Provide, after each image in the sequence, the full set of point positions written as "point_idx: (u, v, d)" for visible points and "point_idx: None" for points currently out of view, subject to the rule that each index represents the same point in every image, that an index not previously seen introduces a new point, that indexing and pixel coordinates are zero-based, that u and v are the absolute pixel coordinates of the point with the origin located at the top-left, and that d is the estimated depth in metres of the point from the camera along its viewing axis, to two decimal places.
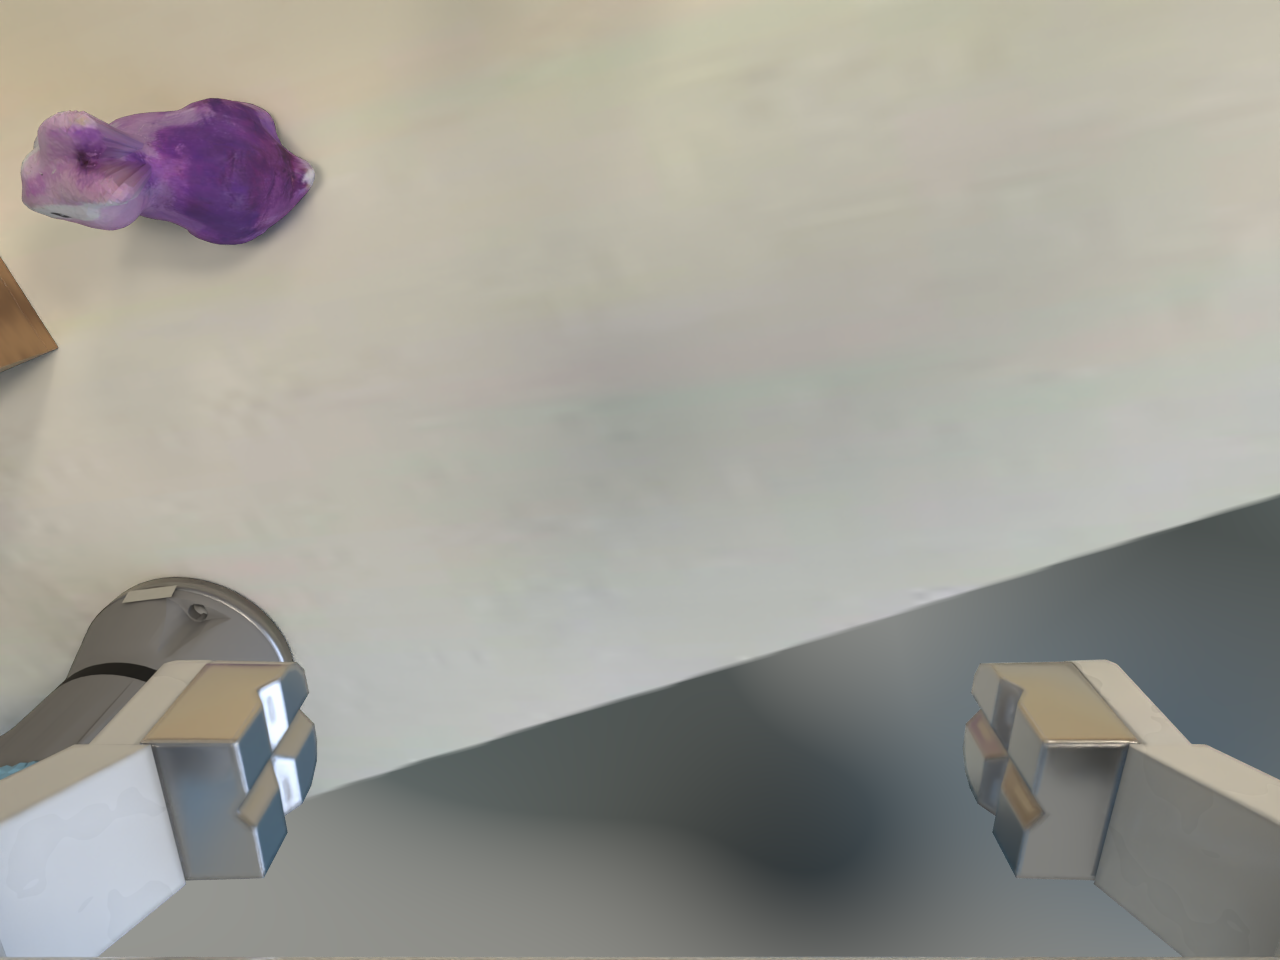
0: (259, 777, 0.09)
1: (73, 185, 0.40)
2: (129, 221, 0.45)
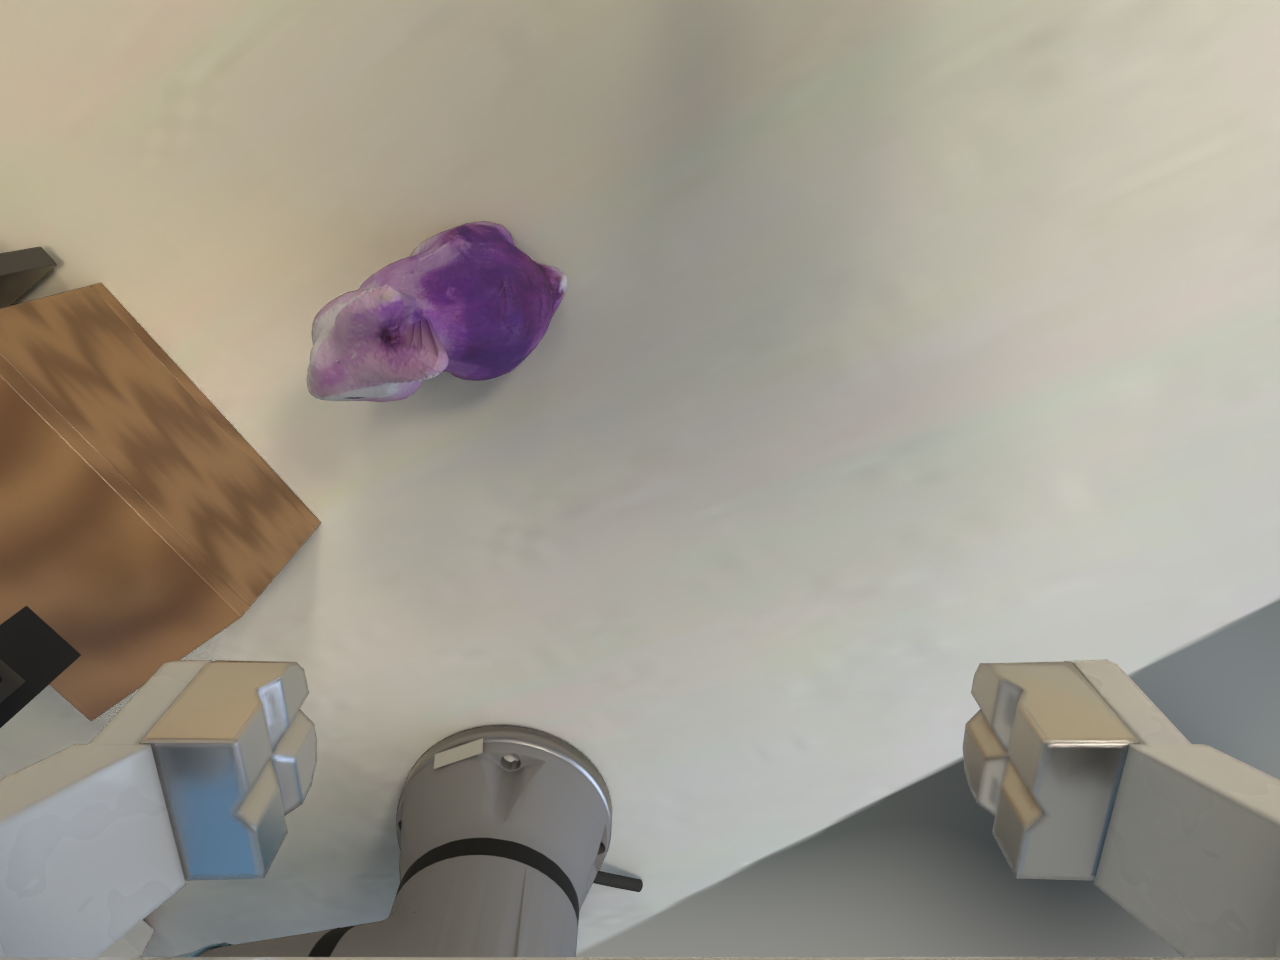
0: (259, 777, 0.09)
1: (383, 367, 0.36)
2: (419, 385, 0.41)
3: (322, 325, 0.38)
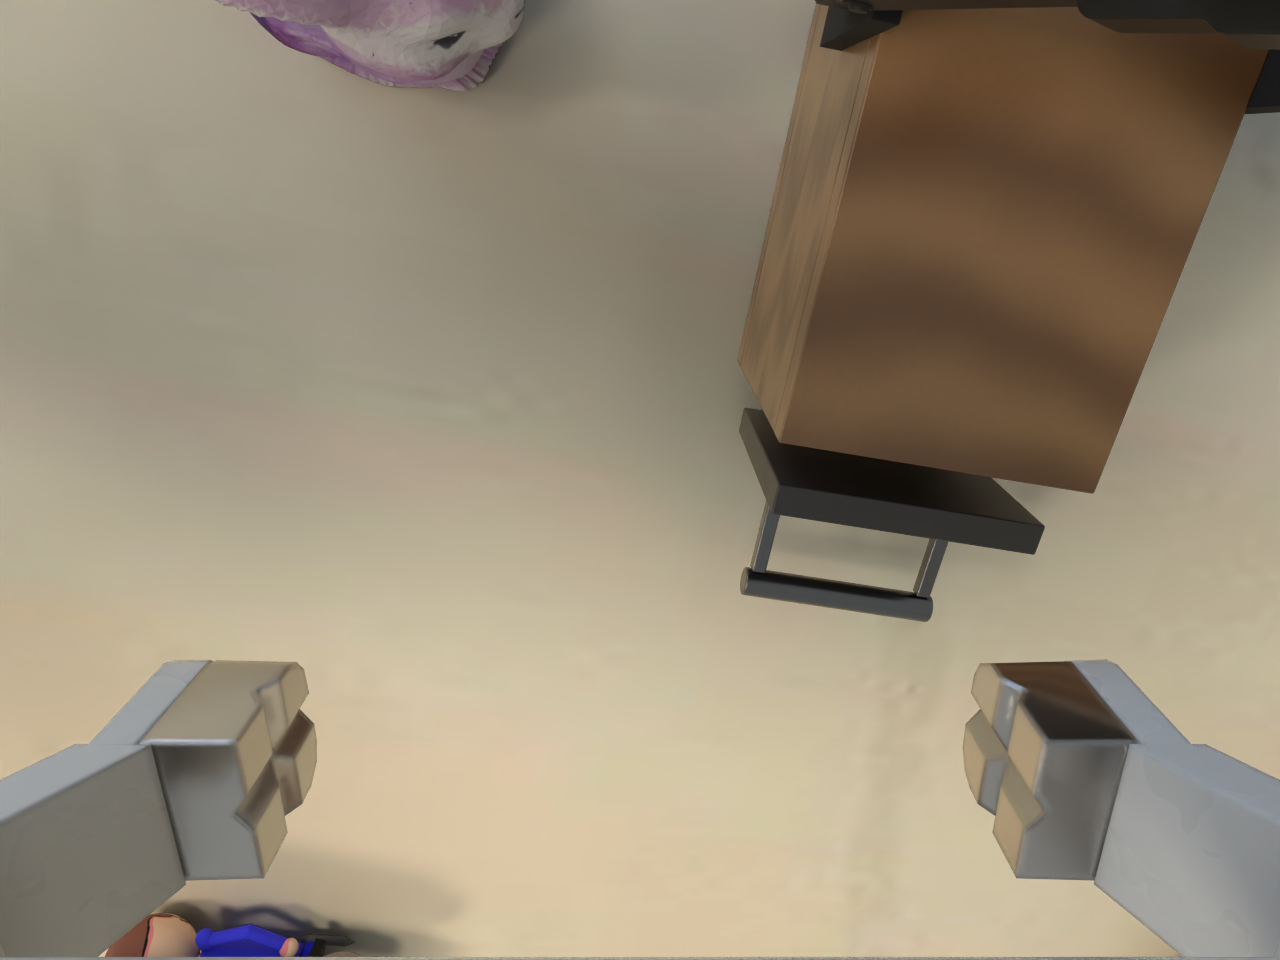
0: (259, 777, 0.09)
1: None
2: None
3: (406, 52, 0.25)
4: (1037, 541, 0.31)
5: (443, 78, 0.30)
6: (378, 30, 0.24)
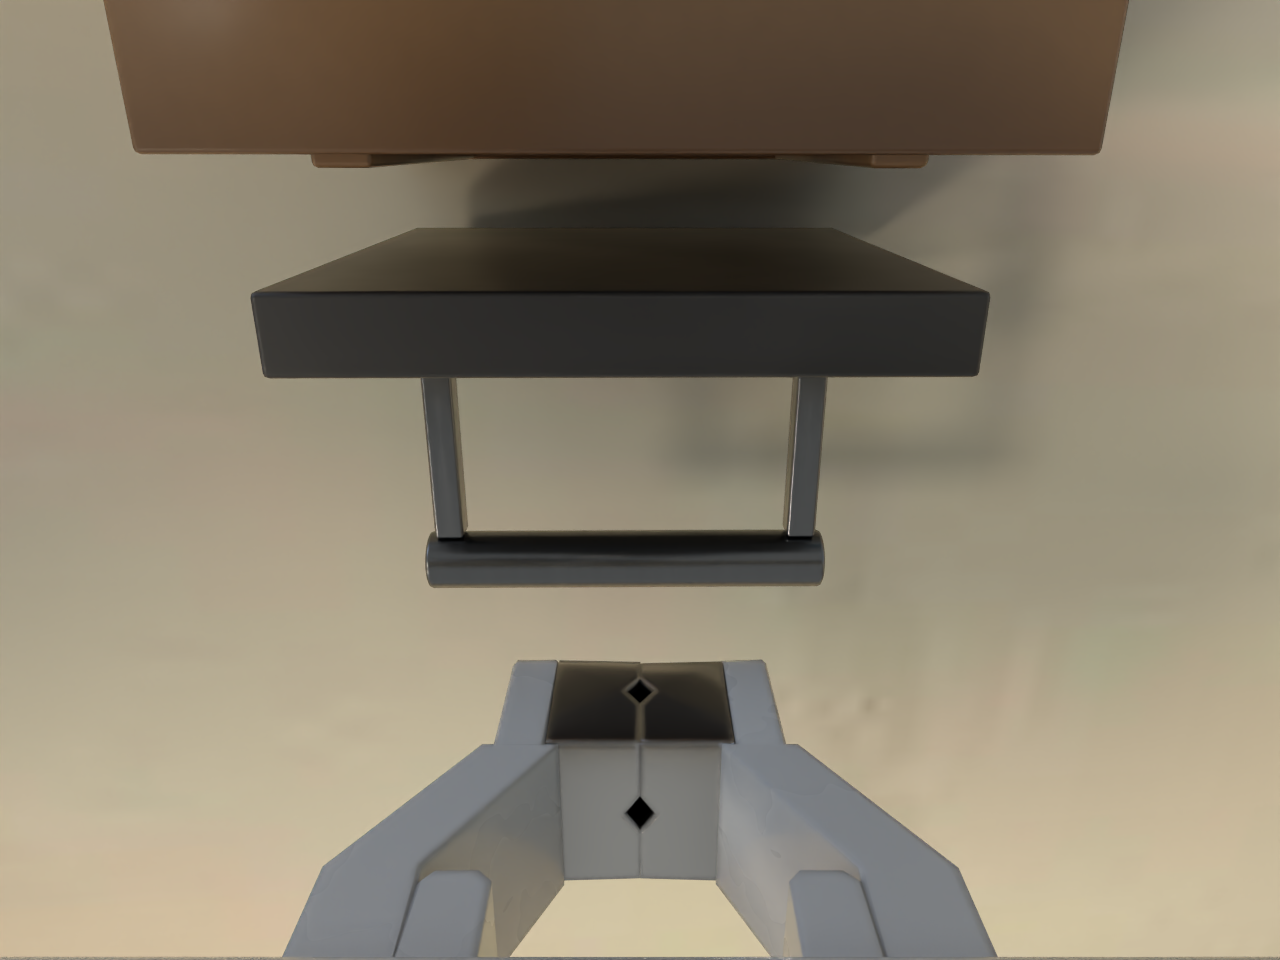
0: None
1: None
2: None
3: None
4: (978, 338, 0.12)
5: None
6: None
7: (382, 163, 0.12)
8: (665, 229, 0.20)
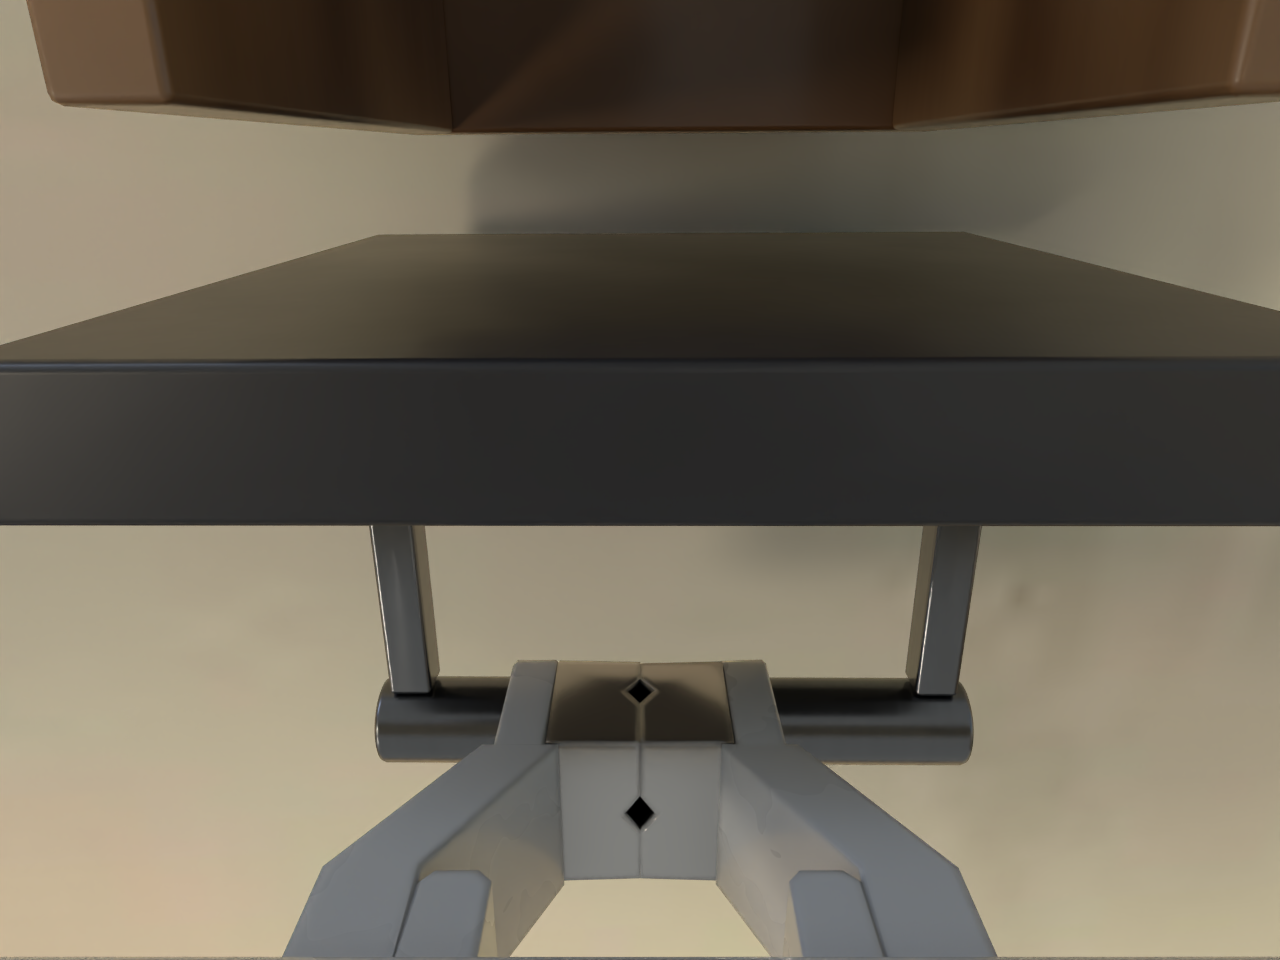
0: None
1: None
2: None
3: None
4: None
5: None
6: None
7: (212, 102, 0.06)
8: (727, 235, 0.14)
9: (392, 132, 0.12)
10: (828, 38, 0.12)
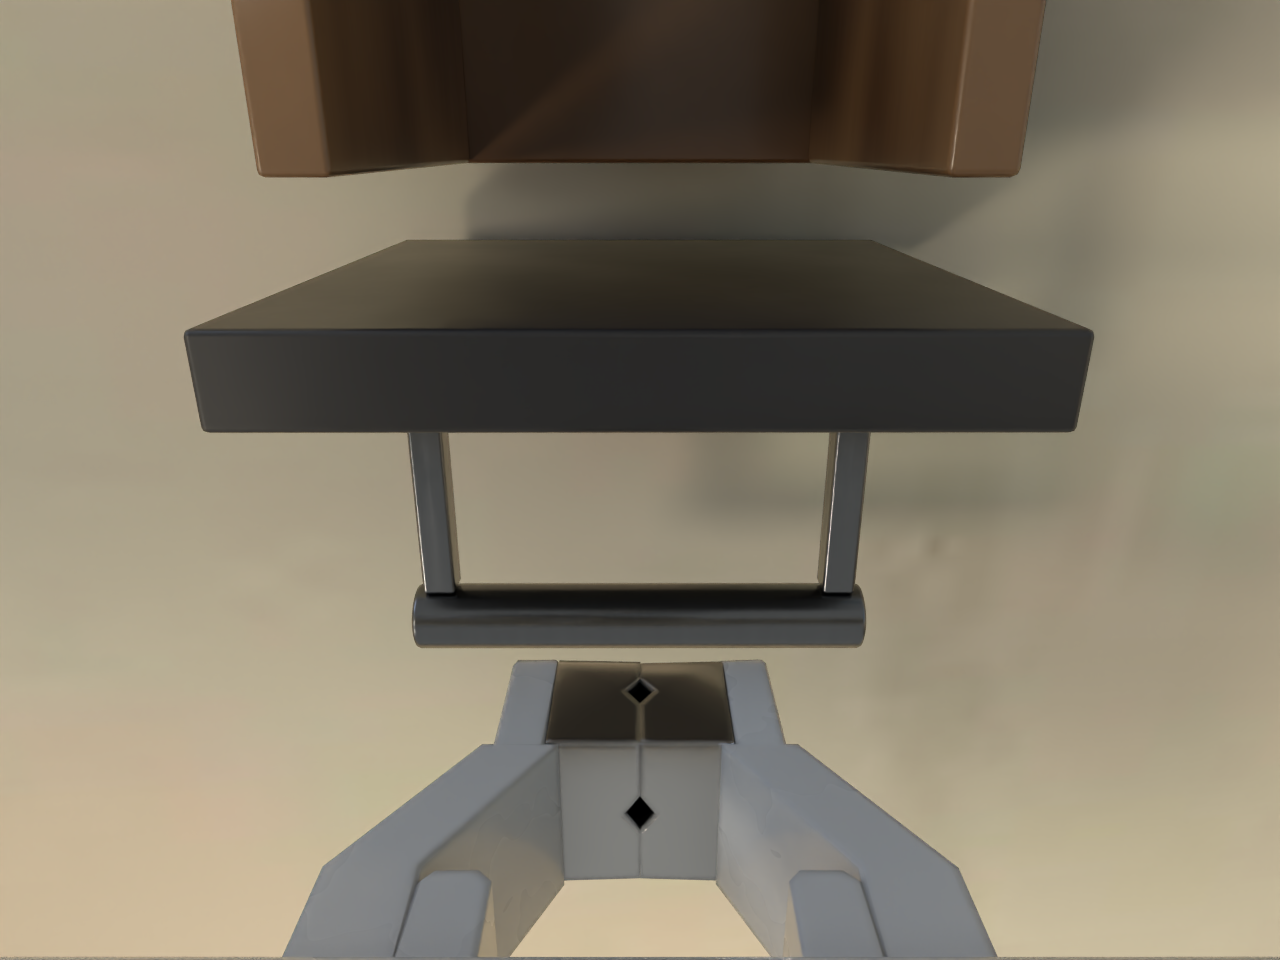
0: None
1: None
2: None
3: None
4: (1077, 386, 0.10)
5: None
6: None
7: (346, 171, 0.10)
8: (684, 241, 0.18)
9: None
10: (758, 93, 0.16)
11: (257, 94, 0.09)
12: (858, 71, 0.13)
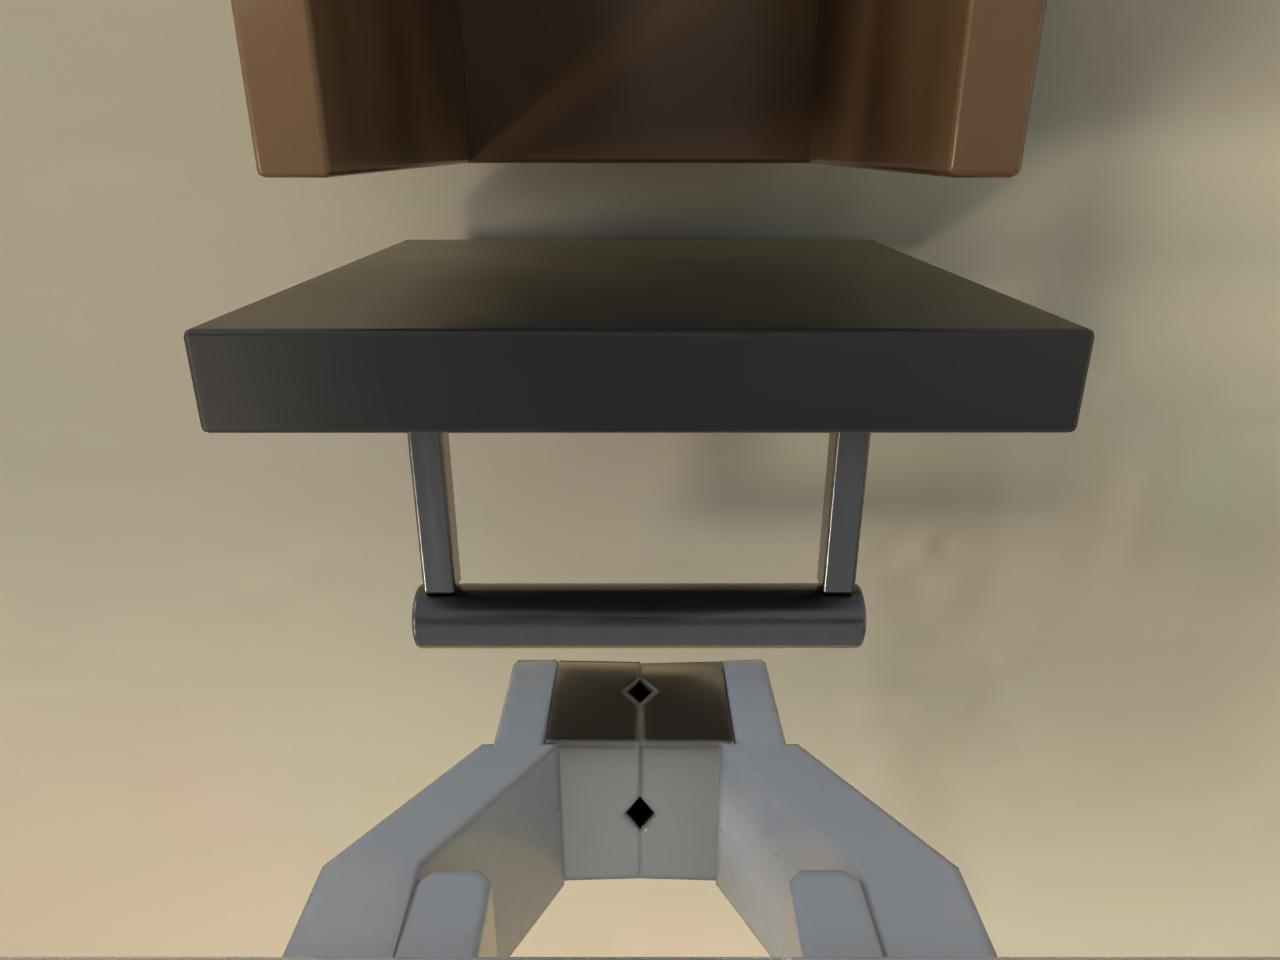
0: None
1: None
2: None
3: None
4: (1078, 386, 0.10)
5: None
6: None
7: (346, 171, 0.10)
8: (684, 241, 0.18)
9: None
10: (758, 92, 0.16)
11: (257, 94, 0.09)
12: (858, 71, 0.13)
